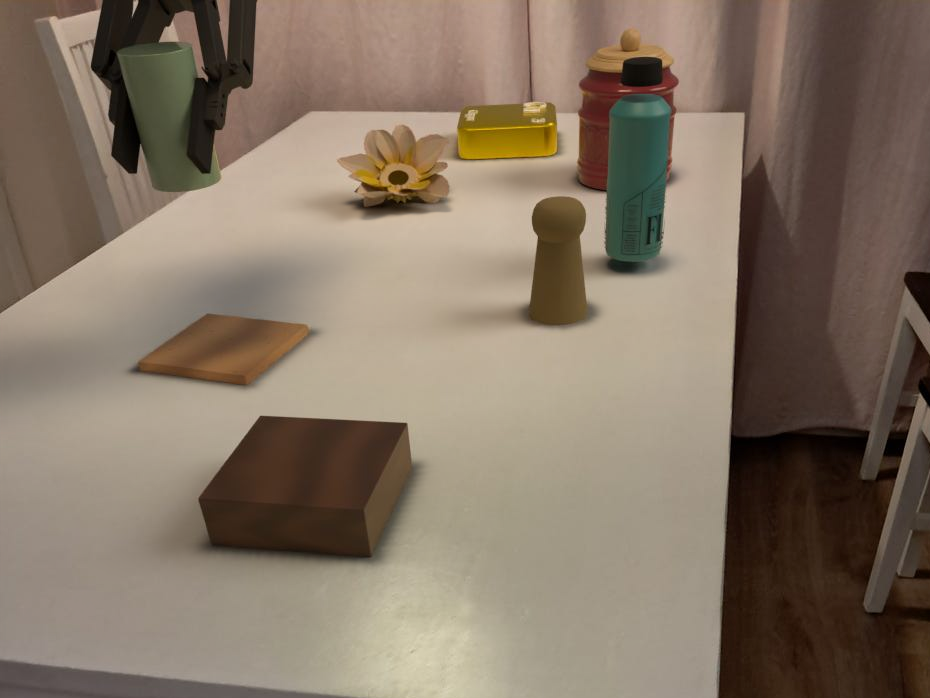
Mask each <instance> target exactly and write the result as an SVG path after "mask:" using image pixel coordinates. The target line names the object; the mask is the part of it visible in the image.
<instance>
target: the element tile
mask: <svg viewBox="0 0 930 698" xmlns="http://www.w3.org/2000/svg"><path fill="white" fill-rule="evenodd" d="M556 109H557V108H556V105H555V104H553V103H552V102H544V101H529V102H524V103H507V104H487V105H483V104H482V105H468V106H464V107H463V108H462V109H461V110H460V113H459V117H458V121H457V127H456V137H457V153H458V157H459V158H460V159H462V160H468V161H469V160H470V161H473V160H474V161H475V160H497V159H519V158H542V157H551V156H553V155H555V154H556V153H557V151H558V120H557V119H558V117H557V110H556Z"/></svg>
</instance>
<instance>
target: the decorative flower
mask: <svg viewBox="0 0 930 698" xmlns="http://www.w3.org/2000/svg"><path fill="white" fill-rule="evenodd" d="M448 143H449V140H448V139H447V138H446V137H444V136H443V135H440V134H438V133H437V134H435V133H434V134H428V135H426V136H423V137H420V138H419V139H418V140H417V139H416V135H415V134H414V132H413V131H412V129H411V128H410V127H409V126H407V125H405V124H403V123H402V124H396V125H394V128H393V130H392V133H390V132H389V131H388V130H385V129H371V130H370V131H368V132H367V133H365V137H364V140H363V150H364V152H365V153H355V154H351V155H348V156H344V157H343V156H342V157H340V158H336V162H337V164H338V165H339V166H340V167H342V168H343V169H345V170H346V171H348V172H349V173H351V174H349V175H347V178H349V179H352V180H354V181H357V182H359V183H360V185H359V186H358V187H357V188H356V189H355V190H353V193H356V194H357V195H361V196H364V198H363V206H364V208H368V207H373V206H377V205H380V204H382V203H383V202H384V201H385V200H386V199H387V201H390V200H394V201H395V202H396V203H397V204H399V202H403V203H404V204H406V201H407V200H410V201H412V198H413V197H417V196H418V197H419V198H420V199H421V200H423V201H424V202H425V203H429V204H432V203H433V204H434V203H438V202H439V201H440V200H441V199H442V198H447V197H448V196H449V194H450V183H449V181H448V180H447V178H446V177H445V176H444V175H442V174H439V173H441V172H444V171H445V170H446V169H448V162H446V161H439V160H440V158H441V157H442V155H443V153H444V151H445V149H446V148H447V146H448Z"/></svg>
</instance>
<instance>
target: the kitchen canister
mask: <svg viewBox="0 0 930 698" xmlns="http://www.w3.org/2000/svg"><path fill="white" fill-rule="evenodd" d="M619 40H620V41H619V42H620V44H617V45H616V44H615V45H610V46H605V47H602V48H599V49H597V51H596V52H595V54H593V55H592V56H591V57H588V59H587V60H586V61H585V66H586V68H588V72H587V74H586V75H585V76H584V77H582V78H581V80H579V81H578V87H579V89H580V90H581V92H582V99H581V107H580V108H579V109H578V111H577V115H578V118H579V121H578V123H579V124H578V129H579V130H578V156H577V161H576V164H577V166H576V170H577V174H578V180H579V182H580V183H581V184H583V185H584V186H587V187H589V188H591V189H592V188H593V189H597V190H603V191H607V178H608V176H607V175H608V155H609V125H610V117H609V112H610V109H611V108H612V107H613V105H614V104H615V103H616V102H617V101H618V100H619V99H620V98H621V97H623V96H626V95H632V94H654V95H659V96H661V97H662V98H663V99H664V100H665V101H666V102H667V104H668V105H669V106H670V108H671V115H670V126H669V141H668V143H669V145H668V161H667V164H669V165H667V175H666V182H667V181H668V180H669V178H670V173H671V171H672V166H673V165H672V163H673V156H672V153H673V143H674V142H673V140H674V131H675V130H674V129H675V128H674V127H675V117H676V114H677V111H678V110H677V107H676V105H674V104H675V102H674V96H675V95H674V93H675V89H676V88H677V86H678V85H679V83H680V80H679V78H678V76H676V75H675V74H674V73H672V70H671V67H672V65H673V64H674V62H675V58H674V57H672V56H671V55H670V54H669V53H667V52H666V51H665V50H664V48H663V47H662V46H658V45H653V44H641V43H642V36H641V34H640V32H639V30H637V29H636V28H628V29H627V28H626V29H625V30H624V31H623V32H622V34H621V36H620V39H619ZM634 57H656V58H660V59H661V60H662V74H663V81H662V83H661V84H659V85H655V86H649V87H629V86H624V85H622V84H621V75H622V67H623V62H624V61H625V60H626V59H629V58H634ZM669 148H670V150H669ZM605 185H606V186H605Z"/></svg>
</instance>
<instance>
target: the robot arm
mask: <svg viewBox="0 0 930 698" xmlns="http://www.w3.org/2000/svg"><path fill="white" fill-rule="evenodd" d="M257 4H258V0H229V6H228V7H229V8H228V30H227V49H226V52H225V45H224V41H223V36H222V35H223V34H222V30H221V29H222V28H221V25H220V22H221V16H220V11H219V5H218V0H137V4H136V7H135V9H134V0H102V1H101V7H100V12H99V18H98V22H97V27H96V28H97V30H96V33H95V39H94V44H93V51H92V55H91V61H90V69H91V71H92V72H93V73H94V75H95V76H96V77H97V78H98V79H99V80H100V82H102V84H103V85H104V86H105V87H106V89H108V90H109V91H110V95H109V104H108V112H107V116H108V120H109V122H110V123H111V124H112V126H114V127H113V135H112V142H111V152H110V156H111V157H112V158H113V159H114V160H115V161H116V162H117V164H119V166H121V168H123V169H124V170H125V172H126V173H127V174H128V175H137V174H138V168H139V159H140V151H141V143H140V140H139V136H138V132H137V128H136V125H135V121H134V117H133V113H132V110H131V106H130V102H129V99H128V95H127V91H126V87H125V84H124V80H123V76H122V72H121V69H120V65H119V61H118V57H117V54H116V53H117V51H119V50H121V49H123V48H127V47H131V46H135V45H141V44H148V43H156V42H160V41H161V38H162V35H163V33H164V31H165V29H166V28H169V27H171V25H172V23H173V20H174V18H175V16H176V14H180V13H183V12H190V13H193V16H194V20H195V26H196V31H197V37H198V43H199V46H200V47H199V49H200V52H201V57H202V58H201V59H202V63H203V66H201V70H202V72H203V73H204V74H205V76H206V77H207V80H206V78H205V77H200V78H195V86H194V94H193V103H192V112H191V120H190V129H189V138H188V146H187V156H188V158H189V159H190V160H191V161H192V162H193V164H194V165H195V166H196V167H197V168H198V170H199V171H200V172H201V173H202V174H210V172H211V163H212V154H213V146H215V136H216V131H223V129H224V126H225V125H226V118H227V111H228V110H227V109H228V103H229V102H228V100H229V96H230V95H231V93H232V91H233V90H234V89H237V88H241V89H243V90H247V89H250V88H251V86H253V83H254V65H255V64H254V63H255V46H256V45H255V43H256V42H255V41H256V24H257V23H256V22H257Z"/></svg>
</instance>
